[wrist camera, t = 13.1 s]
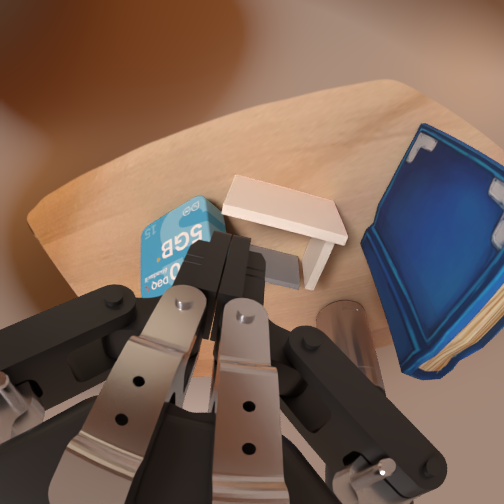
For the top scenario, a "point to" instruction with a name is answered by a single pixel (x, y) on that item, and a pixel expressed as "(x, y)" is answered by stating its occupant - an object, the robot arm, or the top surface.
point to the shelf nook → (288, 227)
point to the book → (439, 253)
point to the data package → (175, 242)
